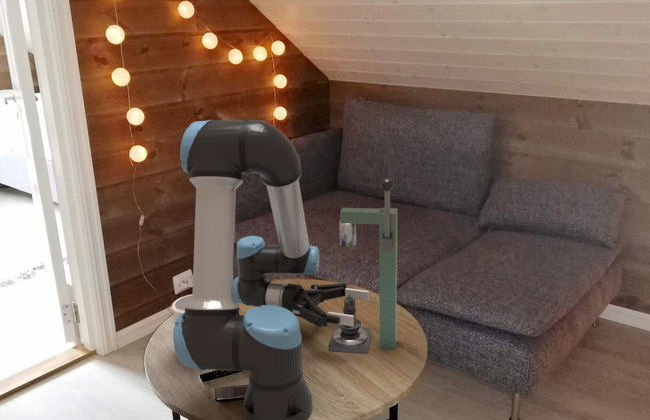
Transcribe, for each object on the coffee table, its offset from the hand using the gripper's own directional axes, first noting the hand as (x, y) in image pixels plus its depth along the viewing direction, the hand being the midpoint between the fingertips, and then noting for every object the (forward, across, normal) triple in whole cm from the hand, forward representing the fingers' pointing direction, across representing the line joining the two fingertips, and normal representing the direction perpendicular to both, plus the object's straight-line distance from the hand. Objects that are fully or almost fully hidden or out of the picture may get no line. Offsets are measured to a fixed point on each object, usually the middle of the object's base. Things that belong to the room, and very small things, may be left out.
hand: (361, 308), depth 148 cm
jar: (-39, +18, -11) cm, 44 cm away
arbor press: (0, -1, -10) cm, 11 cm away
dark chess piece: (-3, 0, -9) cm, 9 cm away
